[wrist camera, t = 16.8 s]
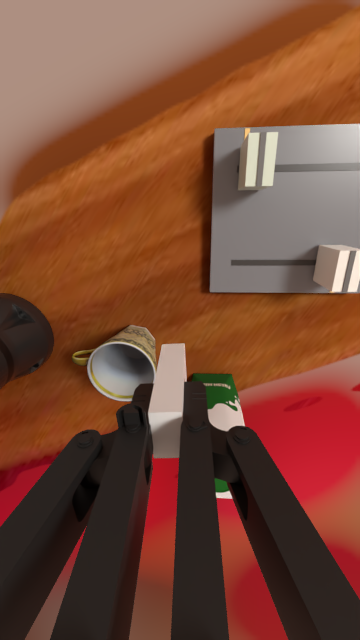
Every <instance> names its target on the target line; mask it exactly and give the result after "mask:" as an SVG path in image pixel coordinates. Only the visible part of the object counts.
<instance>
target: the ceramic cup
mask: <svg viewBox="0 0 360 640" xmlns="http://www.w3.org/2000/svg"><path fill="white" fill-rule="evenodd" d="M91 353H92V354H91ZM84 354H91V355H90V357H89V358H76V356H79V355H84ZM72 361H73V363H75V364H77V365H80V366H87V372H88V376H89V379H90V381H91V383H92V384H93V386H94V387H95V388H96V389H97V390H98V391H99V392H100V393H101V394H103V395H104V396H106V397H108V398H111V399H113V400H117V401H125V402H127V401H132V398H133V394H134V391H135V389H136V388H137V387H138V386H139V384H145V383H154V381H155V377H156V370H157V366H156V355H155V339H154V337H153V336H152V335H151V334H150V332H149V331H148V330H147V329H146V328H144V327H139V326H134V325H130V326H128V327H127V328H125V329H124V330H122V331H121V332H119V333H118V334H117V335H116V336H114V337H112V338H110V339H108V340H107V341H105V342H104V343H102V344H101V345H100V346H99V347H97V348H96V349H92V350H85V351H79V352H76V353H74V354H73V355H72Z"/></svg>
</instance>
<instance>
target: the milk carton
mask: <svg viewBox="0 0 360 640" xmlns="http://www.w3.org/2000/svg"><path fill="white" fill-rule="evenodd" d="M192 381H202V382H203V384H204V385H205V386H206V396H207V407H208V418H209V421H210V423H211V424H212V425H213V426H214V427H216V428H218V429H220V430H224V431H228V430H229V429H230V428H232V427H234V426H245V425H244V420H243V415H242V411H241V406H240V402H239V397H238V393H237V390H236V387H235V384H234V381H233V378H232V374H194V373H193V377H192ZM215 488H216V498H232V496H231V493H230V491H229V488H228V486H227V482H226V481H223V480H220V479H217V478H215ZM232 499H233V498H232Z"/></svg>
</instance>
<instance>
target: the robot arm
mask: <svg viewBox="0 0 360 640" xmlns="http://www.w3.org/2000/svg"><path fill="white" fill-rule="evenodd" d="M53 346H54V337H53V332H52V329H51V327H50V324H49V322H48V321H47V319H46V318H45V316H44V315H43V314H42V313H41V311H40V310H39V309H38V308H36V307H35V306H34V305H33V304H31V303H30V302H28V301H27V300H25V299H23V298H21V297H18V296H15V295H12V294H5V293H0V389H1V388H2V387H3V386H4V385H5V384H7V383H8V382H10V381H12V380H15V379H17V378H20V377H22V376H25V375H27V374H30V373H32V372H34V371H36V370H37V369H38V368H40V367H41V366H42V365H43V364H44V363H45V362H46V361H47V360H48V358H49V357H50V355H51V353H52V351H53ZM116 416H117V422H118V427H119V428H118V430H116V431H114V432H112V433H109V434H105V435H100V434H99V432H98V431H96V430H85V431H82V432H80V433H78V434H76V435H75V436H74V437H73V438H72V439H71V441H70V442H69V443H68V444H67V446H66V447H65V448H64V449H63V450H62V452H61V453H60V454H59V455H58V457H57V458H56V459H55V460H54V462H53V463H52V464H51V465H50V466H49V468H48V469H47V470H46V471H45V473H44V474H43V475H42V476H41V478H40V479H39V480H38V482H36V484H35V485H34V486H33V487H32V489H31V490H30V491H29V492H28V494H27V495H26V496H25V497H24V499H23V500H22V501H21V502H20V504H19V505H18V506H17V507H16V508H15V510H14V511H13V512H12V513H11V514H10V516H9V517H8V518H7V519H6V521H5V522H4V523H3V525H2V526H1V527H0V640H25V638H26V636H27V634H28V632H29V630H30V629H31V627H32V625H33V623H34V621H35V619H36V617H37V616H38V614H39V612H40V610H41V608H42V607H43V605H44V603H45V601H46V599H47V597H48V596H49V594H50V592H51V590H52V588H53V586H54V585H55V582H56V581H57V579H58V577H59V575H60V574H61V571H62V570H63V568H64V566H65V564H66V562H67V561H68V559H69V557H70V555H71V553H72V552H73V550H74V548H75V546H76V544H77V542H78V540H79V539H80V537H81V535H82V533H83V531H84V529H85V528H86V530H85V533H84V536H83V539H82V542H81V546H80V549H79V552H78V555H77V558H76V561H75V564H74V567H73V570H72V573H71V576H70V580H69V582H68V586H67V589H66V592H65V595H64V598H63V601H62V604H61V607H60V610H59V613H58V616H57V620H56V623H55V626H54V629H53V632H52V635H51V638H50V640H129V634H130V627H131V620H132V613H133V605H134V598H135V592H136V585H137V577H138V569H139V563H140V556H141V549H142V542H143V534H144V527H145V520H146V513H147V506H148V499H149V492H150V484H151V477H152V470H153V465H152V455H154V458H179V473H178V495H177V517H176V539H175V560H174V582H173V583H174V584H173V605H172V626H171V627H172V628H171V640H229V634H228V623H227V611H226V600H225V588H224V579H223V578H224V577H223V566H222V555H221V544H220V533H219V522H218V511H217V500H216V488H215V478H217V479H220V480H223V481H226V482H227V486H228V488H229V491H230V493H231V496H232V498H233V501H234V503H235V506H236V508H237V511H238V513H239V516H240V518H241V521H242V523H243V526H244V529H245V531H246V534H247V536H248V539H249V541H250V544H251V546H252V549H253V551H254V554H255V556H256V559H257V561H258V564H259V567H260V569H261V572H262V574H263V577H264V579H265V582H266V584H267V587H268V589H269V592H270V594H271V597H272V599H273V602H274V604H275V607H276V609H277V612H278V615H279V617H280V619H281V622H282V624H283V627H284V630H285V632H286V635H287V637H288V639H289V640H360V600H359V598H358V596H357V595H356V593H355V591H354V590H353V588H352V587H351V585H350V583H349V582H348V580H347V579H346V577H345V575H344V574H343V572H342V571H341V569H340V567H339V566H338V564H337V563H336V561H335V559H334V558H333V556H332V555H331V553H330V551H329V550H328V548H327V547H326V545H325V543H324V542H323V540H322V538H321V537H320V535H319V534H318V532H317V530H316V529H315V527H314V526H313V524H312V522H311V521H310V519H309V518H308V516H307V514H306V513H305V511H304V509H303V508H302V506H301V505H300V503H299V501H298V500H297V498H296V497H295V495H294V494H293V492H292V490H291V489H290V487H289V486H288V484H287V482H286V481H285V479H284V477H283V476H282V474H281V473H280V471H279V469H278V468H277V466H276V464H275V463H274V461H273V460H272V458H271V457H270V455H269V453H268V452H267V450H266V449H265V447H264V445H263V444H262V442H261V440H260V439H259V437H258V436H257V434H256V433H255V432H254V431H253V430H252V429H250V428H249V427H245V426H234V427H232V428H230V429H229V430H228V431H224V430H220V429H218V428H216V427H214V426H213V425H212V424H211V423H210V421H209V418H208V407H207V396H206V386H205V385H204V384H203V382H202V381H191V382H187V376H186V359H185V343H183V344H162V347H161V352H160V357H159V362H158V367H157V372H156V377H155V381H154V383H145V384H139V386H138V387H137V388H136V389H135V391H134V394H133V398H132V402H131V404H127V405H124V406H122V407H121V408H120V409H118V411H117V413H116ZM86 526H87V527H86Z"/></svg>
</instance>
